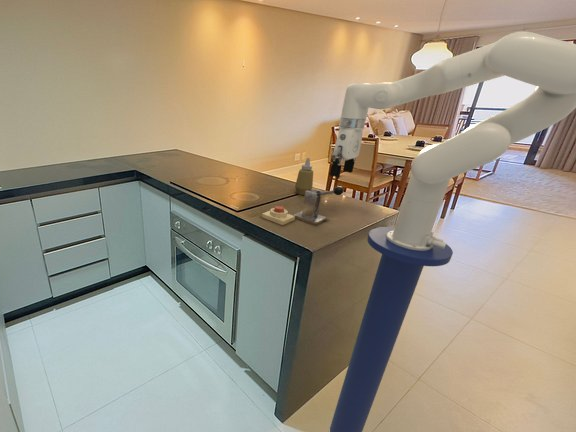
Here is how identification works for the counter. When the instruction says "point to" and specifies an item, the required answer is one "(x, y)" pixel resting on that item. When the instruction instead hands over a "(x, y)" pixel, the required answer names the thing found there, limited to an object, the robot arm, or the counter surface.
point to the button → (279, 209)
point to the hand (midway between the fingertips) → (341, 173)
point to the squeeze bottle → (304, 178)
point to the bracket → (311, 208)
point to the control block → (278, 217)
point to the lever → (336, 190)
